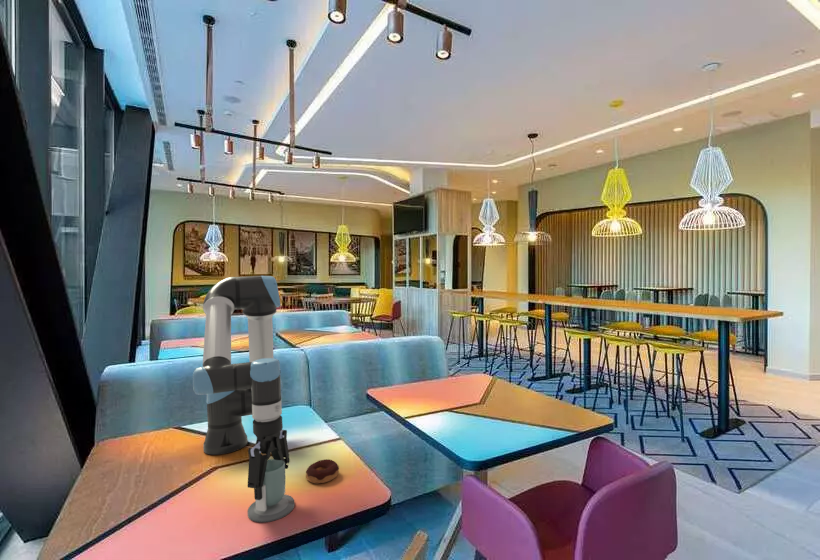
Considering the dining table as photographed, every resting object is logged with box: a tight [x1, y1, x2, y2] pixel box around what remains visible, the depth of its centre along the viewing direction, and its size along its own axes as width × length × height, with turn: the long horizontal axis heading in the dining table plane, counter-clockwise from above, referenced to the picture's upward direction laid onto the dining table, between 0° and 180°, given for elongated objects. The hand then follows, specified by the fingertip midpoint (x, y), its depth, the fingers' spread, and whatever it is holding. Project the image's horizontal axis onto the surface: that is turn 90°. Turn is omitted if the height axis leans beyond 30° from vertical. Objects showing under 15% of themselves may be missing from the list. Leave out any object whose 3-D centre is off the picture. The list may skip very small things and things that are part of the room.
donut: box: [305, 458, 340, 484], centre depth 126 cm, size 10×10×4 cm
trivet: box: [247, 493, 296, 523], centre depth 110 cm, size 12×12×1 cm
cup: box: [263, 458, 287, 506], centre depth 110 cm, size 8×8×10 cm
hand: (271, 501), depth 110 cm, fingers closed on cup, 8 cm apart
